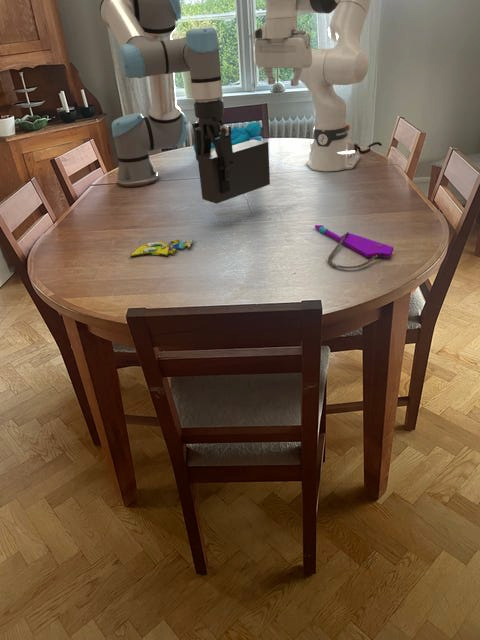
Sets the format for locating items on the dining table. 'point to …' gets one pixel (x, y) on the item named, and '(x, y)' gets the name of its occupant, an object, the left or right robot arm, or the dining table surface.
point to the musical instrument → (358, 246)
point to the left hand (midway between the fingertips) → (217, 189)
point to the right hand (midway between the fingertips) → (282, 85)
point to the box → (235, 171)
